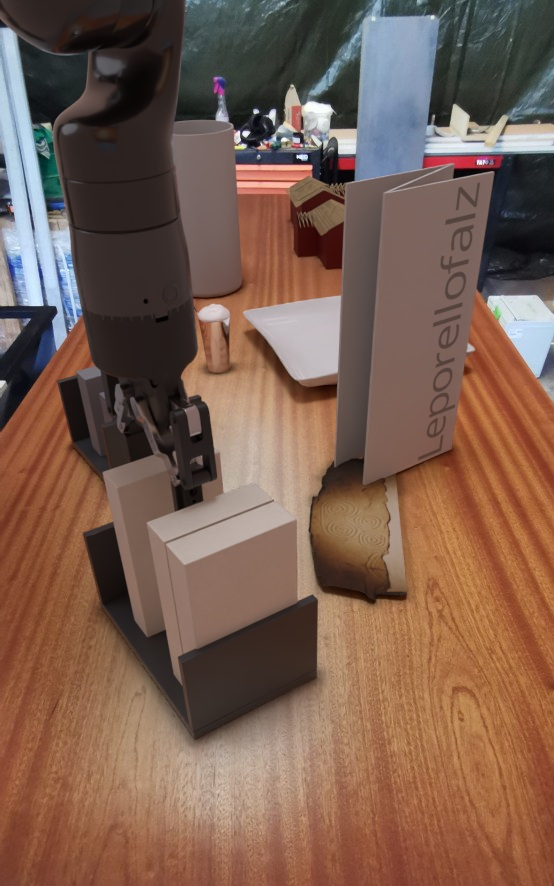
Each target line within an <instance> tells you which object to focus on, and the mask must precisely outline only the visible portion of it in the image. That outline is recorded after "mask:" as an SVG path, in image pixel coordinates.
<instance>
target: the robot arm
mask: <svg viewBox="0 0 554 886" xmlns="http://www.w3.org/2000/svg"><path fill="white" fill-rule="evenodd" d="M186 2H187V1H186V0H0V20H1V21H2V22H3V23H4V24H5V25H6V26H7V27H8V28H9V29H10V30H11V31H12V32H13V33H14V34H16V35H17V36H18V37H19V38H21V39H22V40H24V41H25V42H26V43H29V44H30V45H31V46H34V47H35V48H36V49H38V50H40V51H43V52H45V53H49V54H52V55H55V56H63V57H64V56H66V57H70V56H77V55H83V54H88V57H87V58H88V59H87V72H86V83H85V89H84V91H83V93H82V94H81V96H80V97H79V98H78V99H77V100H76V101H74V103H72V104H71V105H70V106H68V107H66V108H65V109H64V110H63V111H62V112H61V113H60V114H59V115H58V116H57V118H56V119H55V120H54V124H53V128H52V143H53V152H54V158H55V163H56V168H57V173H58V177H59V178H58V179H59V183H60V188H61V192H62V198H63V202H64V208H65V212H66V219H67V222H68V231H69V241H70V255H71V256H70V257H71V264H72V269H73V275H74V279H75V284H76V289H77V294H78V295H77V296H78V299H79V304H80V310H81V314H82V319H83V325H84V330H85V334H86V339H87V344H88V350H89V355H90V358H91V361H92V363H93V365H94V366H96V367H97V368H98V369H99V370H100V372H101V377H102V383H103V389H104V395H105V400H106V406H107V412H108V413H109V415H110V416H111V417H115V416H117V427H118V429H119V430H120V432H121V433H124V434H123V437H124V442H125V448H126V453H127V458H128V463H131V462H134V461H137V460H140V459H143V458H146V457H149V456H151V455H155V456H156V457H159V458H162V459H163V461H164V464H165V466H166V469H167V471H168V474H169V477H170V480H171V481H170V482H171V489H172V496H173V503H174V510H175V512H176V511H179V510H181V509H184V508H187V507H189V506H192V505H195V504H197V503H200V502H202V501H204V500H203V491H202V484H205V483H207V482H211V481H214V480H217V469H216V461H215V453H214V447H215V444H214V437H213V429H212V421H211V413H210V408H209V406H208V404H207V403H206V401H204V400H202V402H198V403H195V404H191V403H189V398H188V397H189V395H188V392H187V390H186V387H185V384H184V385H183V382H182V380H183V379H182V375H183V373H184V371H185V370H186V368H187V367H188V366H189V365H191V364H192V363H193V362H194V360H195V359H196V357H197V355H198V353H199V343H198V333H197V324H196V323H197V322H196V311H195V309H194V307H195V302H194V297H193V291H192V282H191V272H190V261H189V253H188V247H187V242H186V238H185V234H184V230H183V225H182V219H181V214H180V201H179V192H178V182H177V172H176V166H175V165H176V163H175V157H174V150H173V127H174V122H175V119H176V115H177V114H176V113H177V107H178V99H179V89H180V80H181V70H182V68H181V67H182V58H183V47H184V37H185V25H186V23H185V22H186ZM115 392H116V394H117V396H116V398H115ZM169 434H173V440H172V441H169V442H164V441H163V440H161V438H160V437H163V436H166V435H169ZM173 452H176V459H177V463H176V461H175V458H174V456H173ZM201 456H202V458H201ZM190 462H191V464H190ZM177 465H178V466H177Z"/></svg>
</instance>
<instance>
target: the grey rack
mask: <svg viewBox="0 0 554 886" xmlns="http://www.w3.org/2000/svg"><path fill="white" fill-rule="evenodd" d="M56 382H57V387H58V391H59V395H60V399H61V403H62V408H63V412H64V416H65V421H66V424H67V428H68V433H69V436H70V440H71V444H72V445H71V446H72V448H73V449H74V450H75V451H76V452H77V453H78V454H79V455H80V456H81V458H82V459H83V460H84V461H85V462H86V463H87V465H88V466H89V467H90V468H91V469H92V470H93V471H94V472H95V474H97V476H98V477H99V478H100V479H101V480H102V482H104V483H105V481H104V477H103V472H104V471H107V470H110V469H113V468H116V467H119V466H122V465H125V464H128V458H127V453H126V448H125V442H124V437H123V434H124V433H121V432H120V430H119V429H118V427H117V416H115V417H111V416H110V415H109V413H108V412H107V406H106V400H105V395H104V389H103V383H102V377H101V372H100V370H99V369H98V368H97V367H96V366H95V365H94V366H91V367H86V368H83V369H79V370H76V372H75V375H70V376H67V377H64V378H61V379H57V380H56ZM182 382H183V385H184V386H185V383H184V380H183V379H182ZM116 396H117V394H116V392H115V398H116ZM188 398H189V403H191V404H195V403H198V402H202V401H203V400H202V399H203V398H202V396H201V395H200V394H194V395H192V396H188ZM160 438H161V440H163V441H164V442H169V441H172V440H173V434H169V435H166V436H163V437H160Z"/></svg>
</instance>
